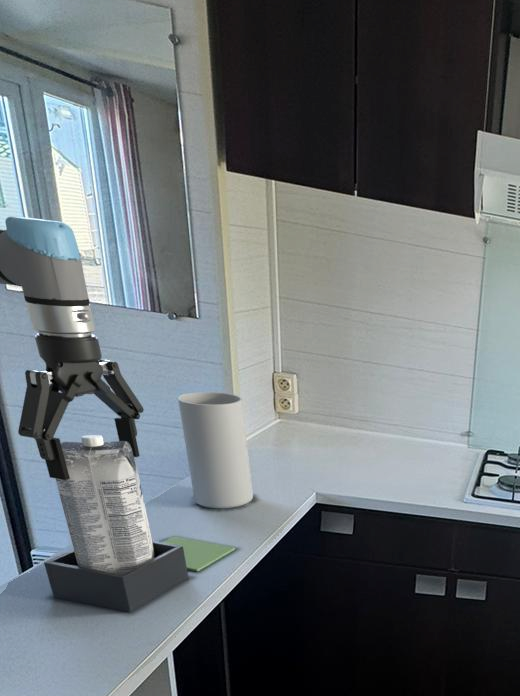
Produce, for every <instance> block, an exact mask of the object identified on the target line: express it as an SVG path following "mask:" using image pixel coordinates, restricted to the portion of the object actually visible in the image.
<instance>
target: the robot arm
mask: <svg viewBox="0 0 520 696" xmlns="http://www.w3.org/2000/svg"><path fill="white" fill-rule="evenodd" d="M4 221H5V228H6V229H0V284H1V285H9V286H17V287H21V289H22V292H23V297H24V301H25V305H26V310H27V313H28V317H29V321H30V325H31V328H32V330H33V331H36V332H37V333H36V334H35V335H34V339H35V344H36V347H37V351H38V355H39V357H40V359H42V360H43V362H44V363H45V370H42V371H41V370H34V369H26V370H25V372H24V375H25V381H26V389H25V394H24V400H23V405H22V409H21V413H20V414H21V416H20V420H19V425H18V430H17V432H18V433H17V434H18V435H19V436H20V437H26V438H31V439H34V440H35V442H36V446H37V450H38V453H39V457H40V458H41V459H42V460H44V461H45V464H46V468H47V472H48V476H49V478H52V479H55V478H56V479H62V480H67V479H70V477H69V473H68V469H67V466H66V462H65V458H64V454H63V450H62V446H61V443H62V442H61V438H58V437H54V436H55V434H56V432H57V430H58V428H59V425H60V423H61V421H62V419H63V417H64V414H65V413H66V410H67V408H68V405H69V403H71V402H73V401H74V399H75V398H79V397H83V396H84V395H95V397H97V398H98V399H99V400H100V401H101V402H103V404H105V405H106V406H107V407H108V408H109V409H110V410H111V411H112V412H113V413H115V414H116V415H117V416H118V417H115V418H114V424H115V428H116V433H117V438H118V441H127V442H128V443H129V444H130V446H131V448H132V452H133V456H134V458H138V457H140V450H139V445H138V441H137V436H138V430H137V425H136V420H140V418H141V415H140V414H142V413H144V411H145V409H144V406H143V405H142V403H141V402H140V401H139V399H138V398H137V396H136V395H135V393H134V391H133V390H132V389H131V387H130V386H129V384H128V382H127V381H126V379H125V378H124V376H123V375H122V373H121V369H120V367H119V363H118V362H117V361H116V360H115V361H114V360H108V359H102V352H101V346H100V343H99V338H98V336H97V335H96V334H93V333H94V332H96V325H95V320H94V316H93V310H92V307H91V301H90V298H89V294H88V288H87V284H86V279H85V273H84V267H83V262H82V253H81V252H80V249H79V246H78V242H77V239H76V235H75V233H74V230H73V228H72V227H71V226H70V225H68V224H67V223H65V222H63V221H58V220H50V219H43V218H42V219H41V218H35V217H23V216H8V217H6V218H5V220H4ZM102 377H103V379H104V380H105V381H106V382H105V381H104V380H103V379H102ZM56 479H55V480H56Z"/></svg>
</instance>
